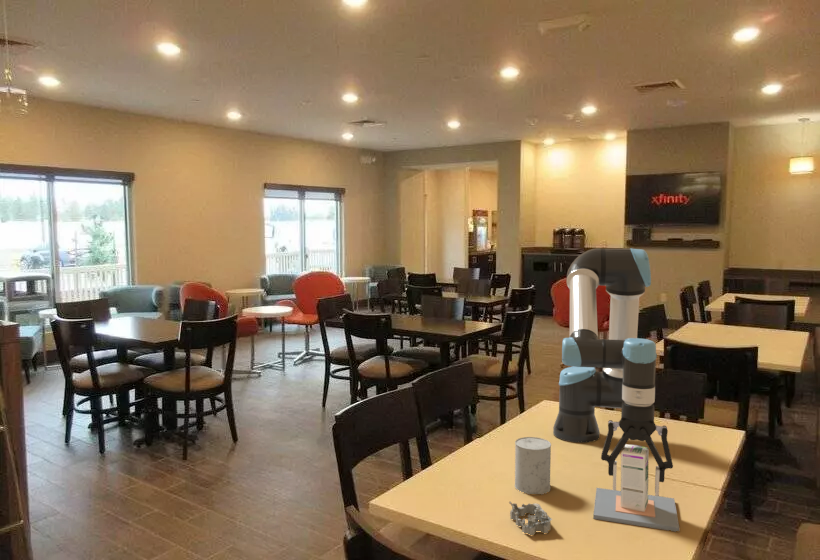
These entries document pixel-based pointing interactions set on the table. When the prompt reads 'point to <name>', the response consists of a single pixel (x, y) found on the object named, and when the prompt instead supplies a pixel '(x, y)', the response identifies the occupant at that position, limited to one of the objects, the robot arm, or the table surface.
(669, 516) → the board
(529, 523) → the grey irregular lumpy piece
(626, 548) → the table surface
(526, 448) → the grey marbled cylinder
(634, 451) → the syrup box
